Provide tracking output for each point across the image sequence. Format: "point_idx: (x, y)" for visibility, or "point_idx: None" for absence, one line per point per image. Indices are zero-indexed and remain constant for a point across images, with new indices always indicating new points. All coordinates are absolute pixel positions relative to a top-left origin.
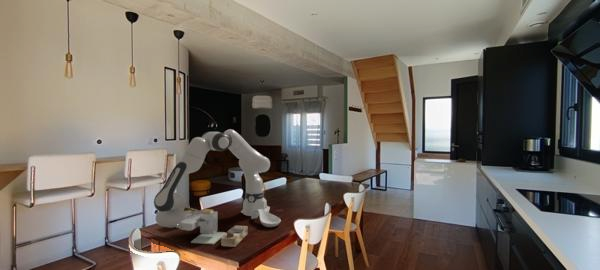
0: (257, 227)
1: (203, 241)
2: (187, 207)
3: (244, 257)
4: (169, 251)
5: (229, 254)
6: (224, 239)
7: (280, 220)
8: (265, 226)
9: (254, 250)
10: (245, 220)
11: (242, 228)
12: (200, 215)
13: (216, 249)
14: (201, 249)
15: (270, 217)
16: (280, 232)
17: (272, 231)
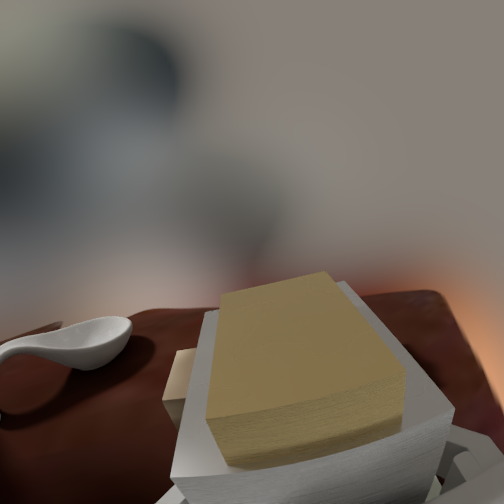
0: (110, 382)
1: (428, 498)
2: None
3: (410, 291)
4: None
5: (430, 321)
6: None
7: (101, 317)
8: (108, 362)
9: None
10: (3, 442)
11: None
12: (442, 435)
13: (440, 377)
14: (497, 422)
15: (57, 344)
16: (175, 317)
17: (164, 334)
